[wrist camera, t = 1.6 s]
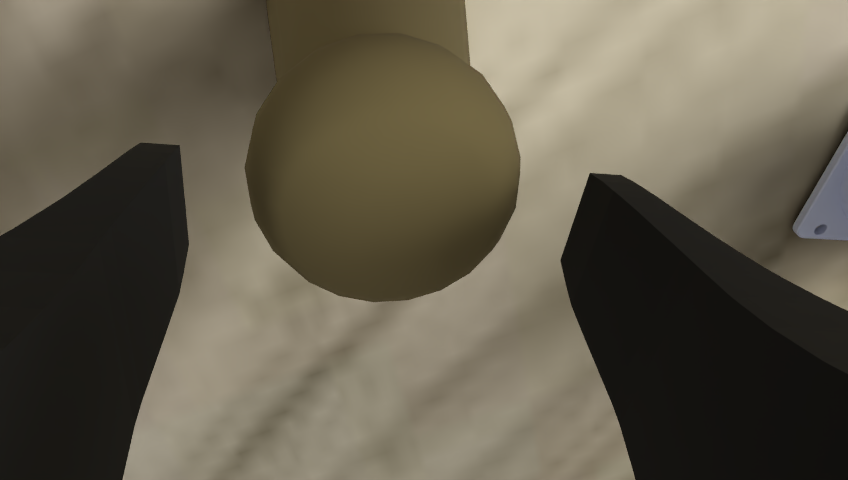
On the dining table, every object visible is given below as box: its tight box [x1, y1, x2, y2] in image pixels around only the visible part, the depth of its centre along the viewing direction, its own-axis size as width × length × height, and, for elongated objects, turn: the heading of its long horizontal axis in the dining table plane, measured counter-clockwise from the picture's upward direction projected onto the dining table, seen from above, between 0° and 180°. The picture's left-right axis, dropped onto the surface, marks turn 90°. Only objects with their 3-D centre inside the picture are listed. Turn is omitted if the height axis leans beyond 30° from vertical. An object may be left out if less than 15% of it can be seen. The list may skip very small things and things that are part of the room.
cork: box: [245, 0, 520, 302], centre depth 16 cm, size 6×6×11 cm
